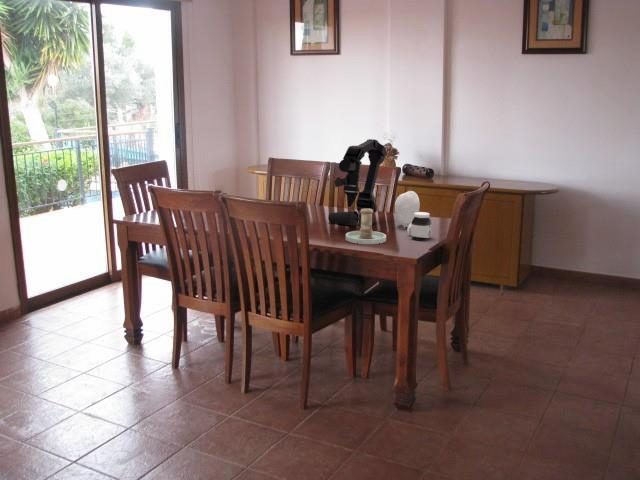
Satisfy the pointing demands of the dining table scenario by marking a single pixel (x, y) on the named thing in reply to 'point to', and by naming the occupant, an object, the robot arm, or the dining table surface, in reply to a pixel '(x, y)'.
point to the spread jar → (420, 226)
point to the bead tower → (366, 223)
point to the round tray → (355, 238)
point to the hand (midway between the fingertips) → (349, 206)
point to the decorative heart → (406, 207)
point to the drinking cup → (344, 218)
